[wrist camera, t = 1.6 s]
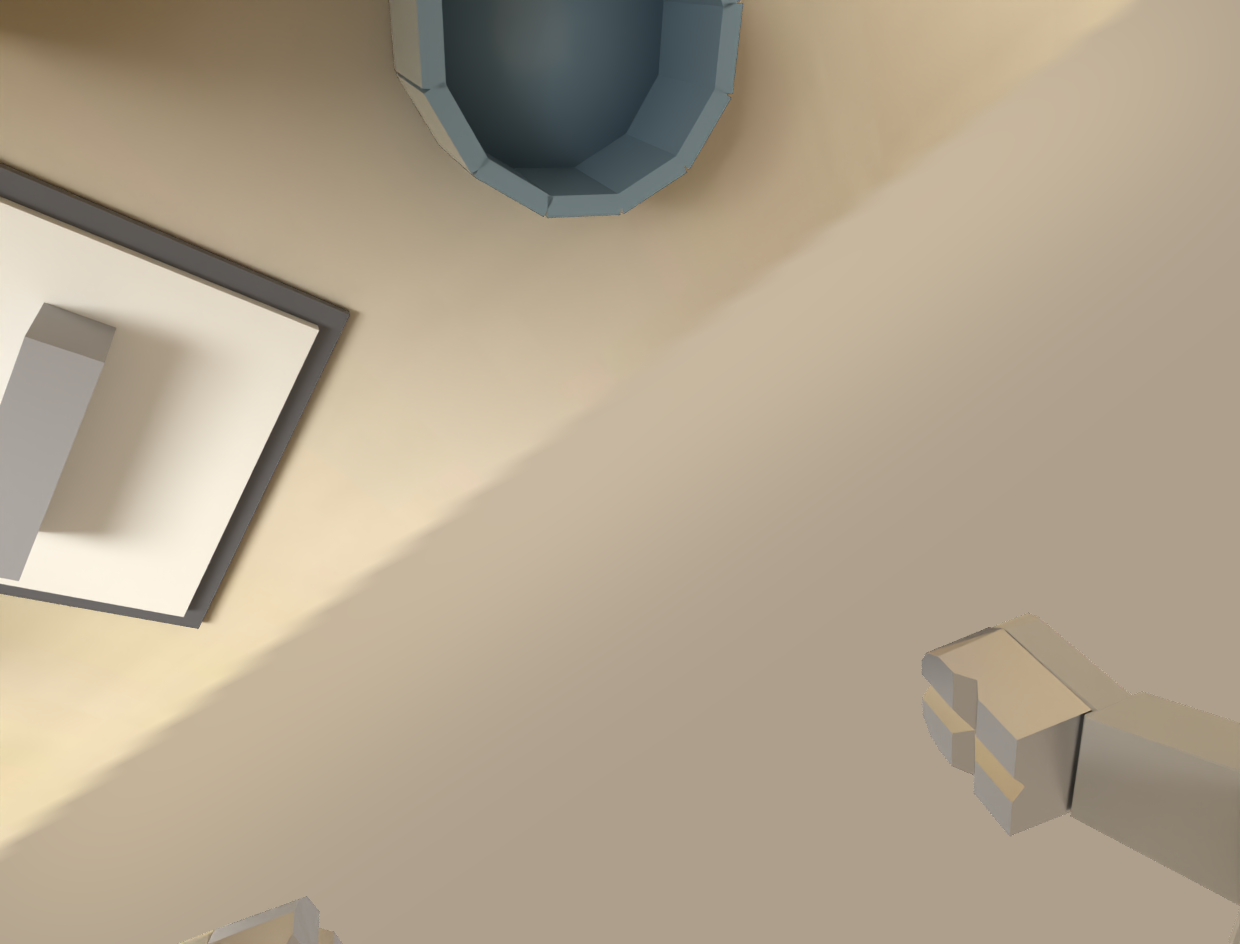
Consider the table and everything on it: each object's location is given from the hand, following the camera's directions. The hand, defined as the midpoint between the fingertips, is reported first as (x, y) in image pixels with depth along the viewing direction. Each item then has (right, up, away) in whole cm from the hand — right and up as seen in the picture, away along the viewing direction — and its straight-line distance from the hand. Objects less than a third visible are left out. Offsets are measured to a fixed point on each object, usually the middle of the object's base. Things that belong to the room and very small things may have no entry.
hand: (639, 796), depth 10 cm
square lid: (-24, +6, +22) cm, 33 cm away
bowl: (-4, +22, +23) cm, 32 cm away
